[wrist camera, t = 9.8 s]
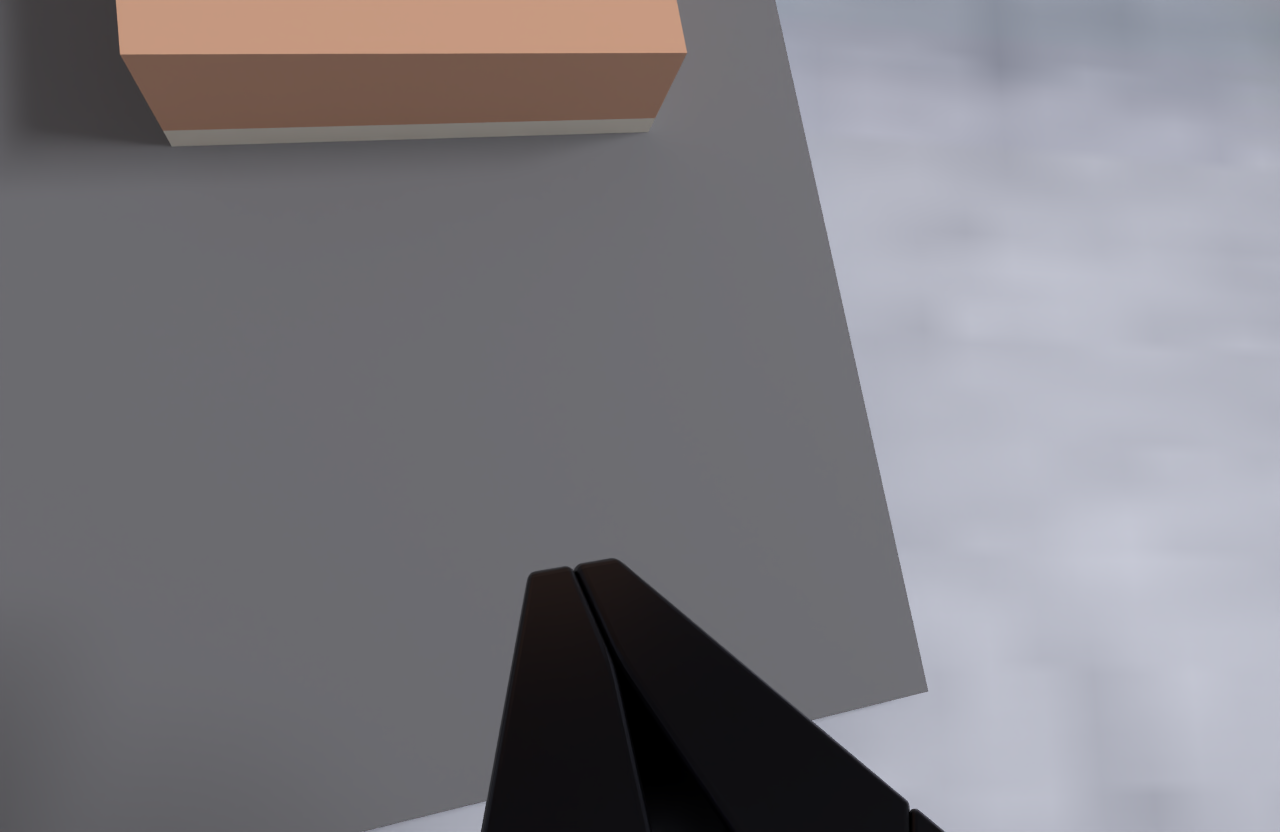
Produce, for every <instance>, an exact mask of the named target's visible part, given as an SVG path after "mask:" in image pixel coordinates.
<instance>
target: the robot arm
mask: <svg viewBox="0 0 1280 832" xmlns="http://www.w3.org/2000/svg"><path fill="white" fill-rule="evenodd" d="M481 832H944V831H943V830H942V829H941V828H940V827H938V826H937V825H936V824H935V823H934V822H932V821H931V820H930V819H929V818H928V817H926V816H925V815H924V814H923V813H922V812H920V811H919V810H918V809H912V810H911V811H910V809H909V803H908V801H907V800H906V799H904V798H903V797H902V796H901V795H900V794H898V793H897V792H896V791H895V790H894V789H892V788H891V787H890V786H889V785H888V784H886V783H885V782H884V781H883V780H882V779H881V778H879V777H878V776H877V775H876V774H875V773H873V772H872V771H871V770H870V769H869V768H867V767H866V766H865V765H864V764H863V763H861V762H860V761H859V760H858V759H857V758H855V757H854V756H853V755H852V754H851V753H849V752H848V751H847V750H846V749H845V748H843V747H842V746H841V745H840V744H839V743H838V742H836V741H835V740H834V739H833V738H832V737H830V736H829V735H828V734H827V733H826V732H824V731H823V730H822V729H821V728H820V727H818V726H817V725H816V724H815V723H814V722H812V721H811V720H810V719H809V718H808V717H806V716H805V715H804V714H803V713H802V712H801V711H799V710H798V709H797V708H796V707H795V706H793V705H792V704H791V703H790V702H789V701H787V700H786V699H785V698H784V697H783V696H781V695H780V694H779V693H778V692H777V691H775V690H774V689H773V688H772V687H771V686H769V685H768V684H767V683H766V682H765V681H764V680H762V679H761V678H760V677H759V676H758V675H756V674H755V673H754V672H753V671H752V670H750V669H749V668H748V667H747V666H746V665H744V664H743V663H742V662H741V661H740V660H738V659H737V658H736V657H735V656H734V655H732V654H731V653H730V652H729V651H728V650H727V649H725V648H724V647H723V646H722V645H721V644H719V643H718V642H717V641H716V640H715V639H713V638H712V637H711V636H710V635H709V634H707V633H706V632H705V631H704V630H703V629H701V628H700V627H699V626H698V625H697V624H695V623H694V622H693V621H692V620H691V619H690V618H688V617H687V616H686V615H685V614H684V613H682V612H681V611H680V610H679V609H678V608H676V607H675V606H674V605H673V604H672V603H670V602H669V601H668V600H667V599H666V598H664V597H663V596H662V595H661V594H660V593H658V592H657V591H656V590H655V589H654V588H653V587H651V586H650V585H649V584H648V583H647V582H645V581H644V580H643V579H642V578H641V577H639V576H638V575H637V574H636V573H635V572H633V571H632V570H631V569H630V568H629V567H627V566H626V565H625V564H624V563H623V562H621V561H620V560H618V559H615V558H608V559H602V560H596V561H591V562H585V563H580V564H578V565H577V566H576V567H575V568H574V570H573V569H572V568H570V567H568V566H562V567H556V568H551V569H545V570H539V571H534V572H532V573H530V574H529V576H528V578H527V582H526V588H525V593H524V599H523V604H522V609H521V615H520V620H519V626H518V631H517V637H516V642H515V648H514V653H513V659H512V664H511V670H510V675H509V681H508V686H507V692H506V697H505V703H504V708H503V714H502V719H501V725H500V730H499V736H498V741H497V747H496V752H495V758H494V763H493V769H492V774H491V780H490V785H489V791H488V796H487V801H486V807H485V812H484V818H483V823H482V829H481Z"/></svg>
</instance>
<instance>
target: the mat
mask: <svg viewBox="0 0 1280 832" xmlns="http://www.w3.org/2000/svg"><path fill="white" fill-rule="evenodd" d="M677 5H678V10H679V15H680V20H681V25H682V30H683V35H684V40H685V45H686V50H687V54H686V56H685V58H684V60H683V62H682V64H681V66H680V68H679V71H678V73H677V75H676V77H675V79H674V81H673V83H672V85H671V87H670V89H669V91H668V93H667V95H666V97H665V99H664V101H663V103H662V105H661V107H660V109H659V111H658V113H657V115H656V118H655V120H654V122H653V124H652V126H651V128H650V130H649V132H635V133H602V134H569V135H536V136H503V137H470V138H437V139H404V140H371V141H338V142H305V143H272V144H239V145H206V146H173V147H172V146H171V144H170V142H169V141H168V139H167V137H166V135H165V134H164V132H163V130H162V128H161V126H160V125H159V123H158V121H157V119H156V117H155V116H154V114H153V112H152V110H151V109H150V107H149V105H148V103H147V101H146V100H145V98H144V96H143V94H142V93H141V91H140V89H139V87H138V85H137V84H136V82H135V80H134V78H133V77H132V75H131V73H130V71H129V69H128V68H127V66H126V64H125V62H124V61H123V59H122V57H121V55H120V47H119V34H118V21H117V8H116V0H0V832H362V831H366V830H371V829H375V828H379V827H383V826H387V825H391V824H395V823H399V822H403V821H407V820H411V819H415V818H419V817H423V816H427V815H431V814H435V813H439V812H443V811H447V810H451V809H455V808H459V807H463V806H467V805H471V804H475V803H479V802H484V801H487V796H488V791H489V785H490V780H491V774H492V769H493V763H494V758H495V752H496V747H497V741H498V736H499V730H500V725H501V719H502V714H503V708H504V703H505V697H506V692H507V686H508V681H509V675H510V670H511V664H512V659H513V653H514V648H515V642H516V637H517V631H518V626H519V620H520V615H521V609H522V604H523V599H524V593H525V588H526V582H527V578H528V576H529V574H530V573H532V572H534V571H539V570H545V569H551V568H556V567H562V566H568V567H570V568H572V569H573V570H574V568H575V567H576V566H577V565H578V564H580V563H585V562H591V561H596V560H602V559H608V558H615V559H618V560H620V561H621V562H623V563H624V564H625V565H626V566H627V567H629V568H630V569H631V570H632V571H633V572H635V573H636V574H637V575H638V576H639V577H641V578H642V579H643V580H644V581H645V582H647V583H648V584H649V585H650V586H651V587H653V588H654V589H655V590H656V591H657V592H658V593H660V594H661V595H662V596H663V597H664V598H666V599H667V600H668V601H669V602H670V603H672V604H673V605H674V606H675V607H676V608H678V609H679V610H680V611H681V612H682V613H684V614H685V615H686V616H687V617H688V618H690V619H691V620H692V621H693V622H694V623H695V624H697V625H698V626H699V627H700V628H701V629H703V630H704V631H705V632H706V633H707V634H709V635H710V636H711V637H712V638H713V639H715V640H716V641H717V642H718V643H719V644H721V645H722V646H723V647H724V648H725V649H727V650H728V651H729V652H730V653H731V654H732V655H734V656H735V657H736V658H737V659H738V660H740V661H741V662H742V663H743V664H744V665H746V666H747V667H748V668H749V669H750V670H752V671H753V672H754V673H755V674H756V675H758V676H759V677H760V678H761V679H762V680H764V681H765V682H766V683H767V684H768V685H769V686H771V687H772V688H773V689H774V690H775V691H777V692H778V693H779V694H780V695H781V696H783V697H784V698H785V699H786V700H787V701H789V702H790V703H791V704H792V705H793V706H795V707H796V708H797V709H798V710H799V711H801V712H802V713H803V714H804V715H805V716H806V717H808V718H809V719H810V720H814V719H818V718H822V717H826V716H830V715H835V714H839V713H843V712H847V711H851V710H855V709H859V708H863V707H867V706H871V705H875V704H879V703H883V702H887V701H891V700H895V699H899V698H903V697H907V696H911V695H915V694H919V693H923V692H927V691H928V688H927V684H926V679H925V675H924V670H923V666H922V661H921V657H920V652H919V648H918V643H917V639H916V634H915V630H914V625H913V621H912V616H911V612H910V607H909V603H908V598H907V594H906V589H905V585H904V580H903V575H902V571H901V566H900V562H899V557H898V553H897V548H896V544H895V539H894V535H893V530H892V526H891V521H890V517H889V512H888V508H887V503H886V499H885V494H884V490H883V485H882V481H881V476H880V472H879V467H878V463H877V458H876V454H875V449H874V445H873V440H872V436H871V431H870V427H869V422H868V417H867V413H866V408H865V404H864V399H863V395H862V390H861V386H860V381H859V377H858V372H857V368H856V363H855V359H854V354H853V350H852V345H851V341H850V336H849V332H848V327H847V323H846V318H845V314H844V309H843V305H842V300H841V296H840V291H839V287H838V282H837V278H836V273H835V269H834V264H833V259H832V255H831V250H830V246H829V241H828V237H827V232H826V228H825V223H824V219H823V214H822V210H821V205H820V201H819V196H818V192H817V187H816V183H815V178H814V174H813V169H812V165H811V160H810V156H809V151H808V147H807V142H806V138H805V133H804V129H803V124H802V120H801V115H800V111H799V106H798V101H797V97H796V92H795V88H794V83H793V79H792V74H791V70H790V65H789V61H788V56H787V52H786V47H785V43H784V38H783V34H782V29H781V25H780V20H779V16H778V11H777V7H776V2H775V0H677Z"/></svg>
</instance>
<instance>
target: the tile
mask: <svg viewBox="0 0 1280 832" xmlns="http://www.w3.org/2000/svg"><path fill="white" fill-rule="evenodd" d="M116 8H117V21H118V34H119V47H120V55H121V57H122V59H123V61H124V62H125V64H126V66H127V68H128V69H129V71H130V73H131V75H132V77H133V78H134V80H135V82H136V84H137V85H138V87H139V89H140V91H141V93H142V94H143V96H144V98H145V100H146V101H147V103H148V105H149V107H150V109H151V110H152V112H153V114H154V116H155V117H156V119H157V121H158V123H159V125H160V126H161V128H162V130H163V132H164V134H165V135H166V137H167V139H168V141H169V142H170V144H171V146H172V147H173V146H206V145H239V144H272V143H305V142H338V141H371V140H404V139H437V138H470V137H503V136H536V135H569V134H602V133H635V132H649V130H650V128H651V126H652V124H653V122H654V120H655V118H656V115H657V113H658V111H659V109H660V107H661V105H662V103H663V101H664V99H665V97H666V95H667V93H668V91H669V89H670V87H671V85H672V83H673V81H674V79H675V77H676V75H677V73H678V71H679V68H680V66H681V64H682V62H683V60H684V58H685V56H686V54H687V50H686V45H685V40H684V35H683V30H682V25H681V20H680V15H679V10H678V5H677V0H116Z"/></svg>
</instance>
